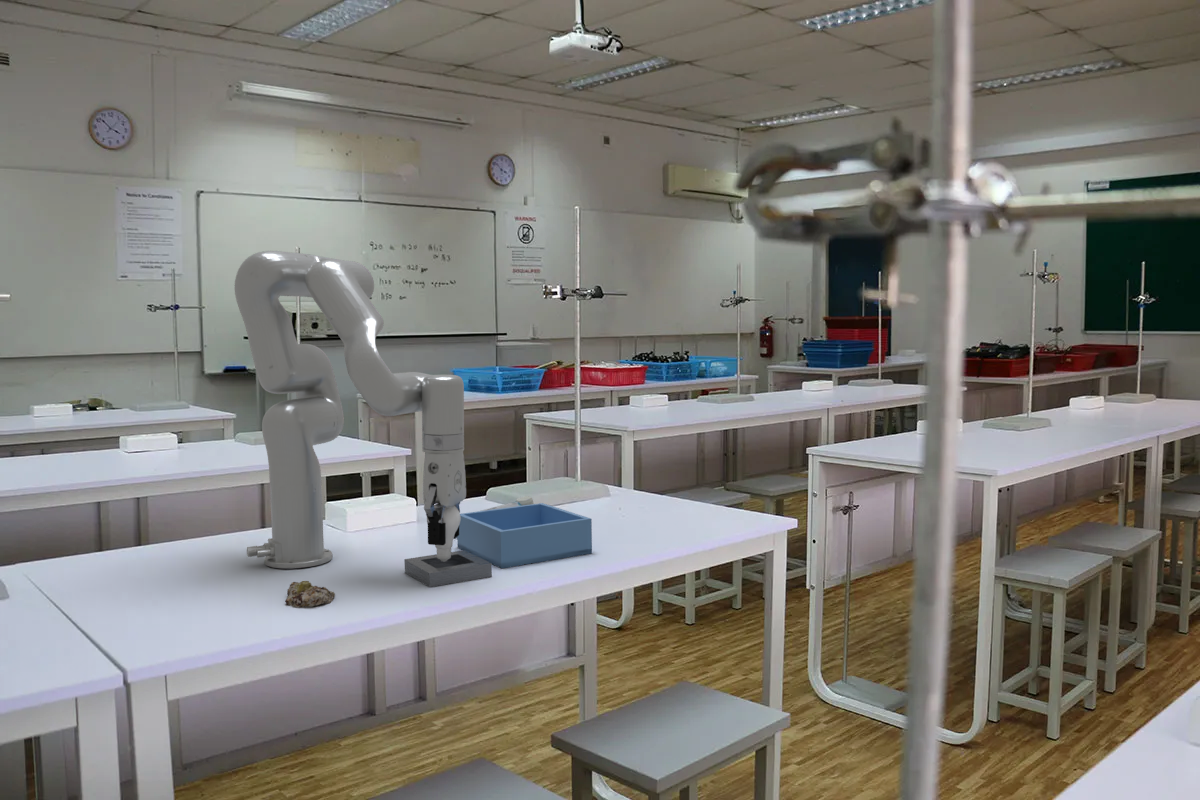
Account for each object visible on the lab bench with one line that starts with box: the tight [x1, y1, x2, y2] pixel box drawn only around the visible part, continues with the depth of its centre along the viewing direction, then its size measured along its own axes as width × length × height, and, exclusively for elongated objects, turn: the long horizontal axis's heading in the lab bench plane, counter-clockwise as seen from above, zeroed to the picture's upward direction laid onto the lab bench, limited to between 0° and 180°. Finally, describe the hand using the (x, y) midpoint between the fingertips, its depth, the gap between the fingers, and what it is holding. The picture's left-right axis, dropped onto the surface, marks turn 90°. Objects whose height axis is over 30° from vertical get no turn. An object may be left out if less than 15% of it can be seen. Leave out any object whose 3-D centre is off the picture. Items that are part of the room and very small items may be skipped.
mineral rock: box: [284, 580, 336, 608], centre depth 160 cm, size 11×4×8 cm
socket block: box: [404, 549, 493, 588], centre depth 175 cm, size 12×12×2 cm
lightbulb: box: [426, 503, 461, 562], centre depth 175 cm, size 6×6×11 cm
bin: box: [456, 502, 593, 569], centre depth 192 cm, size 20×20×7 cm
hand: (443, 539), depth 175 cm, fingers closed on lightbulb, 6 cm apart
